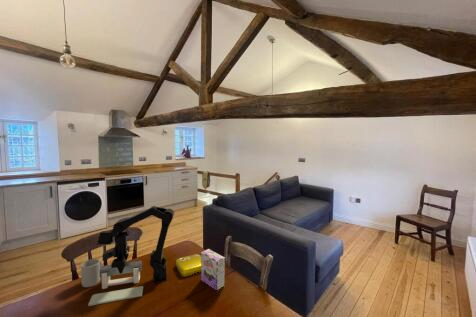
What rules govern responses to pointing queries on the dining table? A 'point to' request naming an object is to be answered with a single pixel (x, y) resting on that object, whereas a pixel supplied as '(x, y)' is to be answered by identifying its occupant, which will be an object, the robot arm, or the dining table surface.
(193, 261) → the element tile
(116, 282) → the rack
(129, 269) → the rail
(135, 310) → the dining table surface
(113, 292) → the mat
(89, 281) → the mug
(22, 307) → the dining table surface
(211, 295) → the dining table surface
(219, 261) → the candy box
